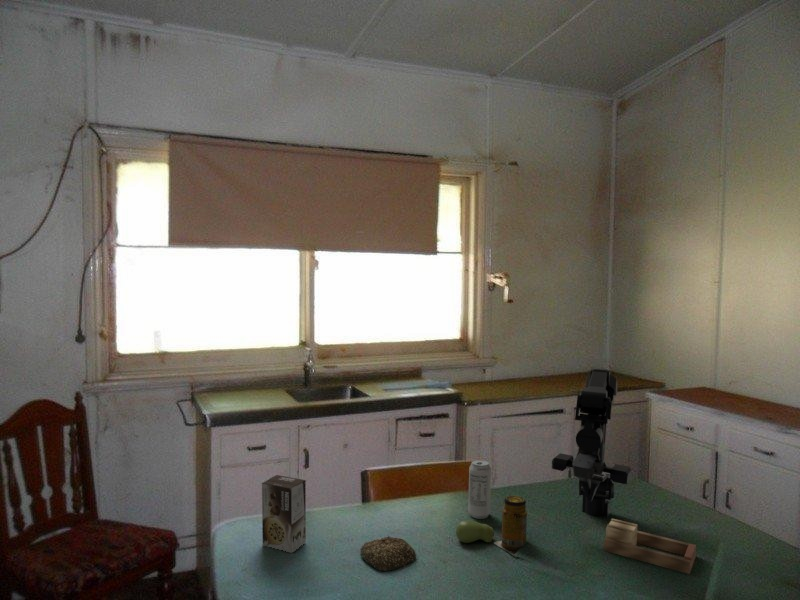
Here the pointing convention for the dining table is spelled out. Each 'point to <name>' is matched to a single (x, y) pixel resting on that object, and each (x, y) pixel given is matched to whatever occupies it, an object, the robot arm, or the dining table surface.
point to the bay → (655, 556)
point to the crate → (622, 531)
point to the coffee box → (284, 513)
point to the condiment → (513, 524)
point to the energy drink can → (479, 489)
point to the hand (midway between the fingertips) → (589, 501)
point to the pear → (474, 531)
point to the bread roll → (388, 553)
